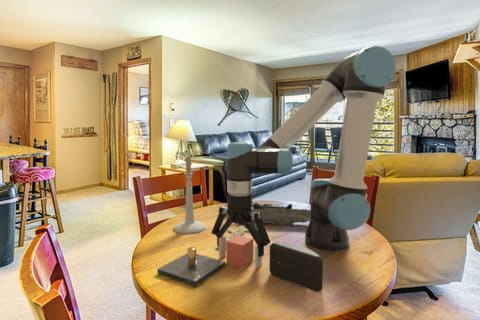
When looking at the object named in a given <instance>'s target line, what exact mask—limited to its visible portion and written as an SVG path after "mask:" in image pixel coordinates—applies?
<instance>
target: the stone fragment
mask: <svg viewBox="0 0 480 320" xmlns="http://www.w3.org/2000/svg"><path fill="white" fill-rule="evenodd" d="M259 211H260V212H261V215H262V221H263V224H273V225H274V226H278V225H279V226H280V225H285V226H292V225H293V224H295V223H303V224H305V223H307V222H308V223H309V222H310V218H311V209H307V208H306V209H305V208H301V209H300V208H299V209H298V208H292V209H285V208H280V209H278V208H277V209H276V208H269V209H252V212H259ZM251 219H252V221H253V223H255V221H254V219H253V217H251Z"/></svg>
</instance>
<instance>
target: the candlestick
mask: <svg viewBox="0 0 480 320" xmlns="http://www.w3.org/2000/svg"><path fill="white" fill-rule="evenodd" d="M191 157H192V156H189V155H188V156H185V172H184V173H183V174H184V175H185V179H186V183H185V185H186V187H185V188H186V189H185V216H184V218H185V220H184V221H181V222H179V223H177V224H176V225H175V226H174V227H173V231H174V232H176V233H178V234H181V235H194V234H198V233H201V232H203V231H205V230H206V229H207V226H206V224H205V223H203V222H202V221H198V220H195V213H194V201H193V186H192V181H191V180H192V178H193V176H192V175H193V174H194V172H192V159H191Z"/></svg>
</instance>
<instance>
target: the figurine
mask: <svg viewBox="0 0 480 320" xmlns="http://www.w3.org/2000/svg"><path fill="white" fill-rule="evenodd" d="M226 205H227V204H226ZM226 207H227V208H228V205H227V206H226ZM269 208H276V209H277V208H278V209H280V208H285V209H293V204H292V203H289V204H287V206H278V205H277V206H274V205H273V204H272V203H263V204H259V203H258V202H254V201H252V207H251V209H269Z"/></svg>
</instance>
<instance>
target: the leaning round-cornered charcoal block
mask: <svg viewBox="0 0 480 320" xmlns="http://www.w3.org/2000/svg"><path fill="white" fill-rule="evenodd" d="M269 272H270V274H271V275H272V276H275V277H278V278H281V279H283V280H285V281H288V282H290V283H293V284H296V285H298V286H301V287H303V288H307V289H309V290H311V291H314V292H321V291H322V290H323V285H324V284H323V281H324V259H323V258H322V256H321V255H320V254H319V253H317V252H316V251H313V250H312V249H309V248H306V247H305V246H301V245H296V244H294V243H293V244H292V243H288V242H287V243H286V242H273V243H270V245H269Z"/></svg>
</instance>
